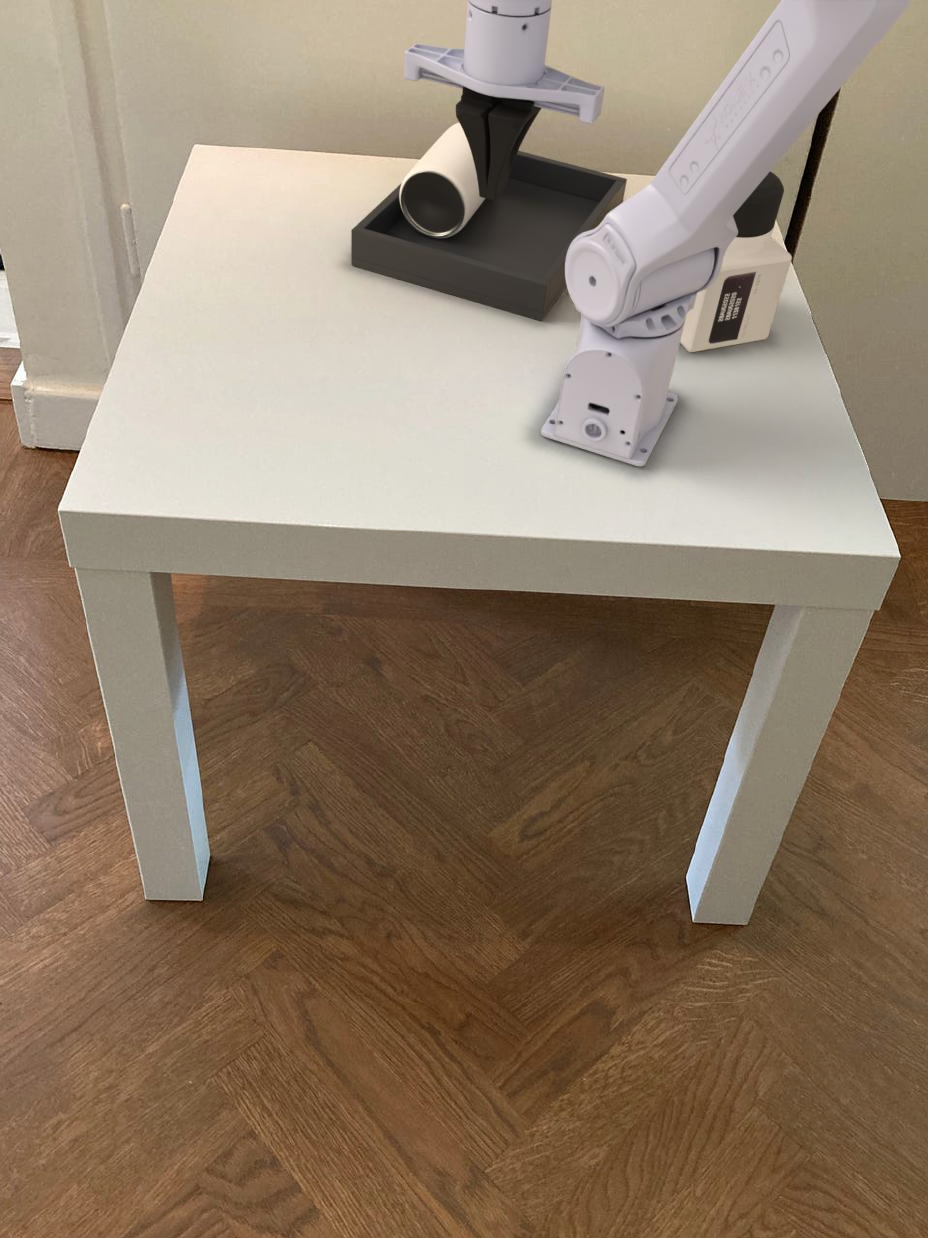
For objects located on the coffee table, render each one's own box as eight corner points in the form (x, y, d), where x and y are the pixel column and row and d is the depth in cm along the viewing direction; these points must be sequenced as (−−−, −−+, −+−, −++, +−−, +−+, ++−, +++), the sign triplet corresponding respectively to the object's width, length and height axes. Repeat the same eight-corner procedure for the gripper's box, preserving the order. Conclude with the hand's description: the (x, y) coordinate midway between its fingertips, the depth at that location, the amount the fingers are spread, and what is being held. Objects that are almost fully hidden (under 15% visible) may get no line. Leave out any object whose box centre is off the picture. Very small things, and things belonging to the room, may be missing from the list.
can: (482, 208, 98) (524, 151, 106) (426, 151, 96) (473, 98, 104) (437, 254, 102) (481, 197, 110) (383, 201, 100) (431, 147, 108)
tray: (542, 321, 95) (547, 285, 93) (351, 265, 99) (351, 229, 97) (621, 211, 109) (627, 178, 107) (451, 166, 113) (453, 133, 111)
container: (769, 340, 96) (814, 190, 86) (688, 354, 93) (726, 202, 84) (721, 292, 100) (760, 145, 91) (643, 304, 98) (674, 155, 89)
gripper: (628, 6, 79) (598, 194, 89) (435, -37, 82) (426, 150, 92) (596, 38, 75) (568, 234, 84) (393, -8, 78) (388, 186, 88)
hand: (492, 193), depth 88 cm, fingers closed
